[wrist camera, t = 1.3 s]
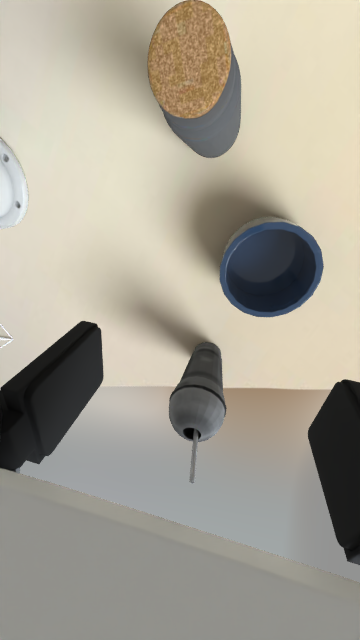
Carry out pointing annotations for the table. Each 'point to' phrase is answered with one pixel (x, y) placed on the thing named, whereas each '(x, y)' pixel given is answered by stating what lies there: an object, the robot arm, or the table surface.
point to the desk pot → (270, 267)
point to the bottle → (196, 77)
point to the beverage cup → (199, 399)
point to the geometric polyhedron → (6, 338)
